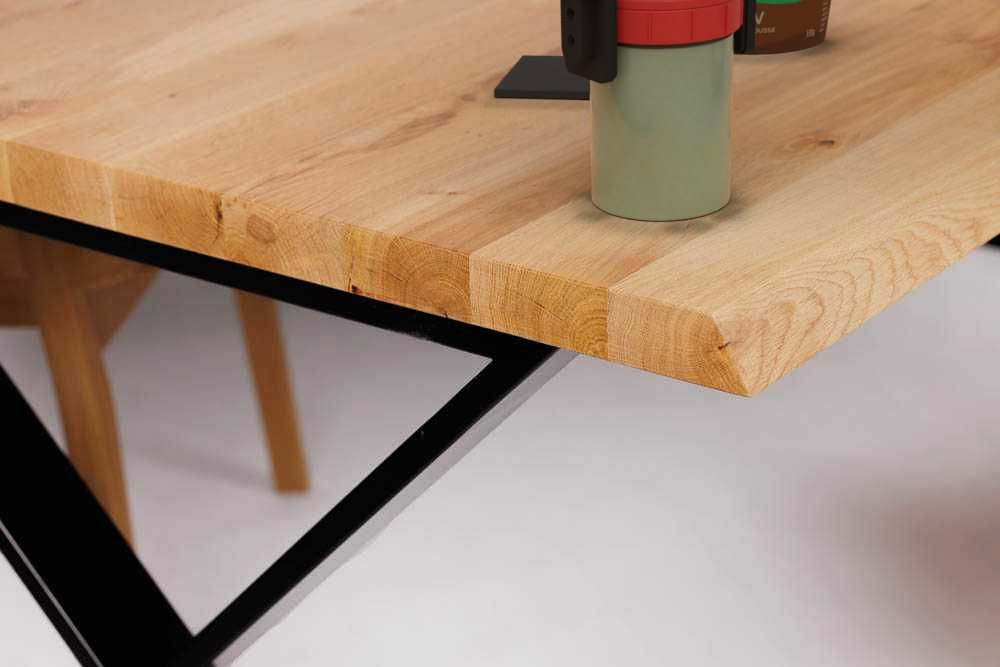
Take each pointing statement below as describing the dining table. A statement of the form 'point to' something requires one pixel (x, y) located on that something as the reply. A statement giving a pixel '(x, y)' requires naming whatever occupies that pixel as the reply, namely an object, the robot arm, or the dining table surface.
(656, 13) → the lid
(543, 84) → the mat
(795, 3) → the food container
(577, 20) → the robot arm
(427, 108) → the dining table surface
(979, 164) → the dining table surface
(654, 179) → the jar
